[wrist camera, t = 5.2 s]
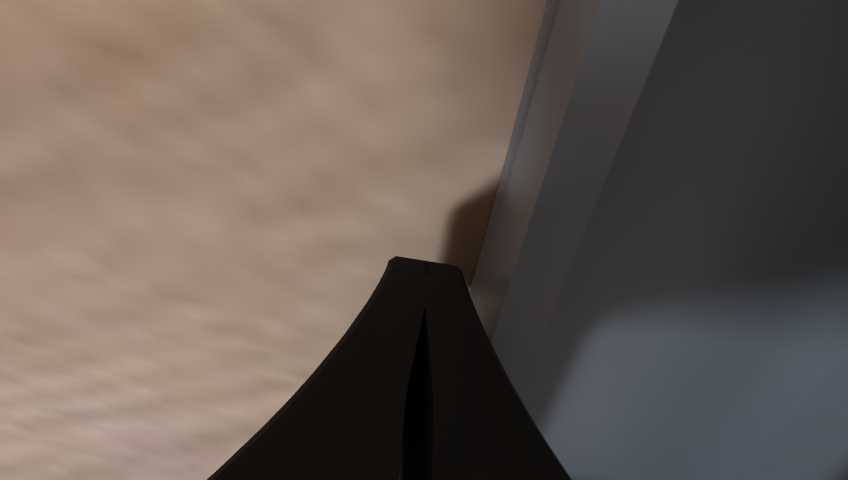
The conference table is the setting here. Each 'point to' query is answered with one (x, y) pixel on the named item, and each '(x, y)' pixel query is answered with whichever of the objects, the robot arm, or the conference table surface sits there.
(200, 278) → the conference table surface
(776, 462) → the shell tray
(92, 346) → the conference table surface
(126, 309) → the conference table surface
